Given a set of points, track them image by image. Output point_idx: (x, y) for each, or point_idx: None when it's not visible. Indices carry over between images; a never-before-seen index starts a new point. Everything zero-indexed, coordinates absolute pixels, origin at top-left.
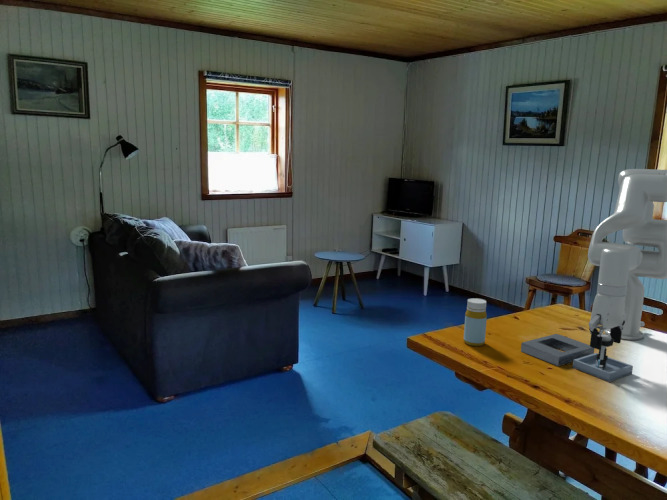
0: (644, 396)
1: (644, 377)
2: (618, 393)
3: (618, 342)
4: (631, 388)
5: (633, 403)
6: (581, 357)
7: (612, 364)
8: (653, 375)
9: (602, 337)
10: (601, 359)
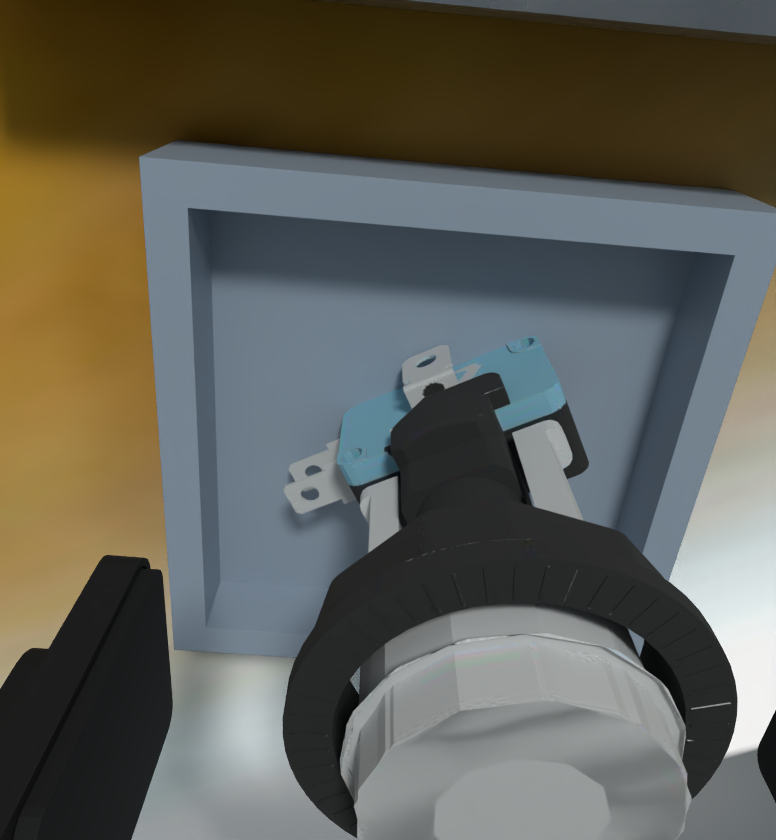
0: (203, 809)
1: None
2: None
3: (764, 768)
4: (255, 721)
5: None
6: (359, 181)
7: (640, 454)
8: None
9: (362, 818)
10: (365, 511)
